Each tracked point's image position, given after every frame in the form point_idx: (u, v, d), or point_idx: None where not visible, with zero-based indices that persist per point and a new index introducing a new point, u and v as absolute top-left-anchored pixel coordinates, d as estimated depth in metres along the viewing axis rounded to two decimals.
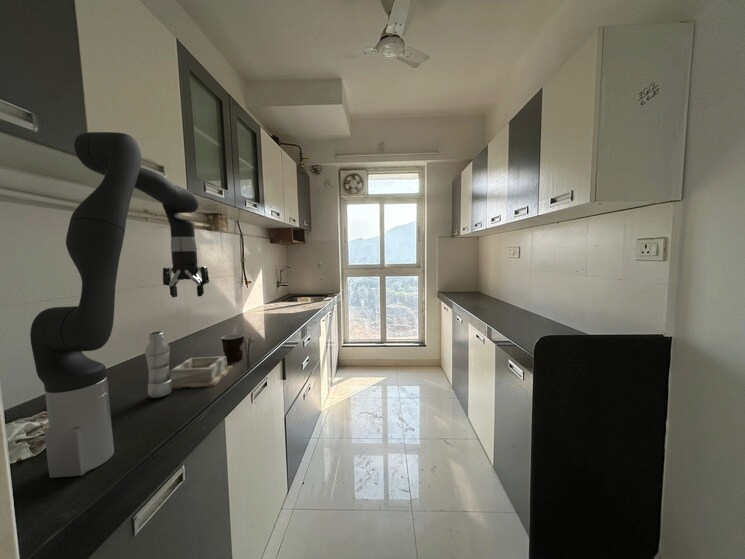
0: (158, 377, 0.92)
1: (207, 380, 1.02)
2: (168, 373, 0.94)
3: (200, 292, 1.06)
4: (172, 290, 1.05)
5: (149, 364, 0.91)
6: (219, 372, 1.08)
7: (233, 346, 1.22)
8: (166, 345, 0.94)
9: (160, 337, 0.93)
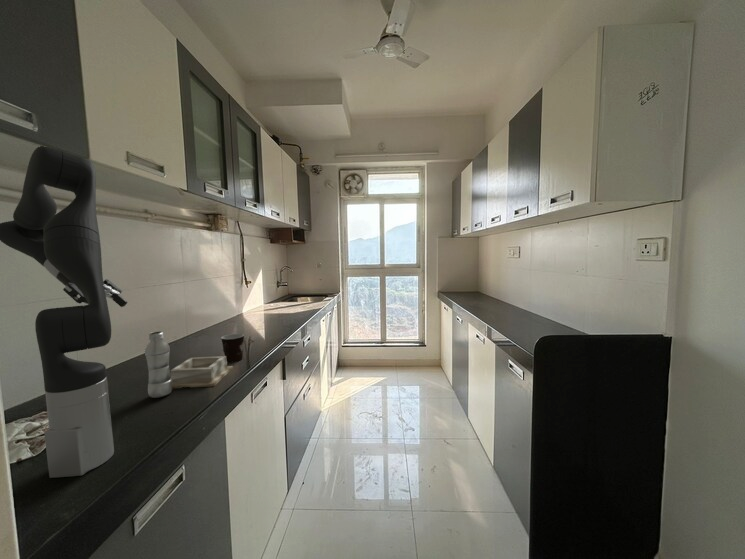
0: (158, 377, 0.92)
1: (207, 380, 1.02)
2: (168, 373, 0.94)
3: None
4: None
5: (149, 364, 0.91)
6: (219, 372, 1.08)
7: (233, 346, 1.22)
8: (166, 345, 0.94)
9: (160, 337, 0.93)
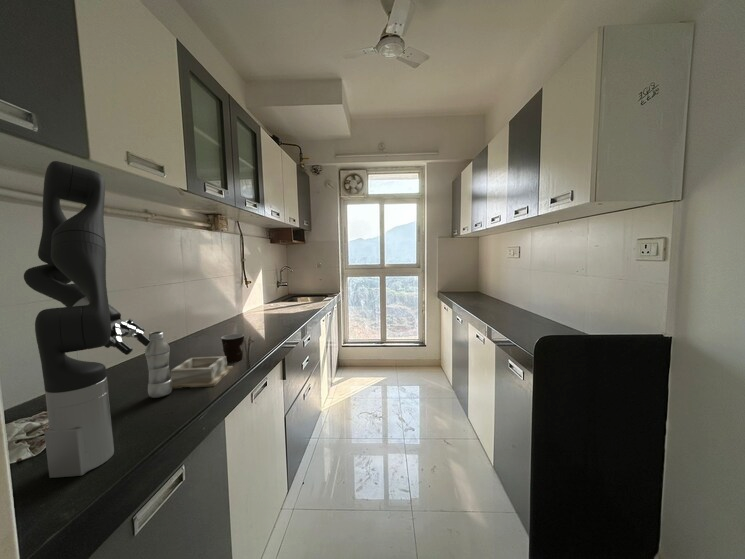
0: (158, 377, 0.92)
1: (207, 380, 1.02)
2: (168, 373, 0.94)
3: None
4: (125, 344, 0.88)
5: (149, 364, 0.91)
6: (219, 372, 1.08)
7: (233, 346, 1.22)
8: (166, 345, 0.94)
9: (160, 337, 0.93)
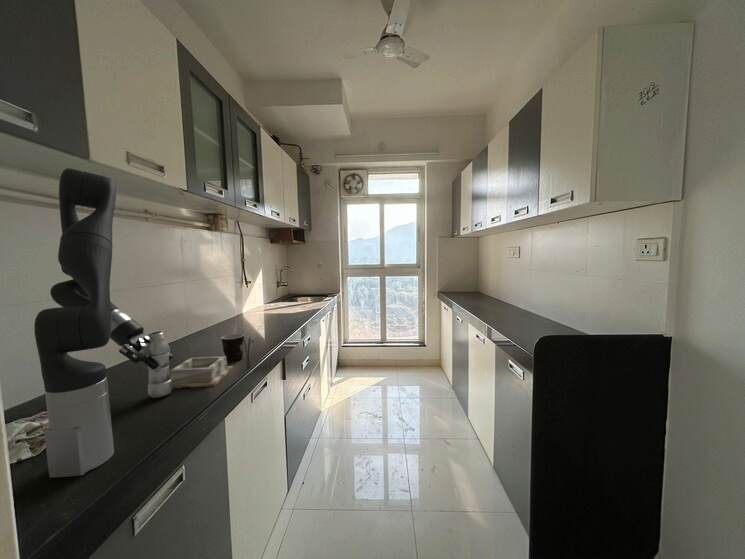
0: (158, 377, 0.92)
1: (207, 380, 1.02)
2: (168, 373, 0.94)
3: (170, 354, 0.98)
4: (153, 359, 0.90)
5: None
6: (219, 372, 1.08)
7: (233, 346, 1.22)
8: (166, 345, 0.94)
9: (160, 337, 0.92)
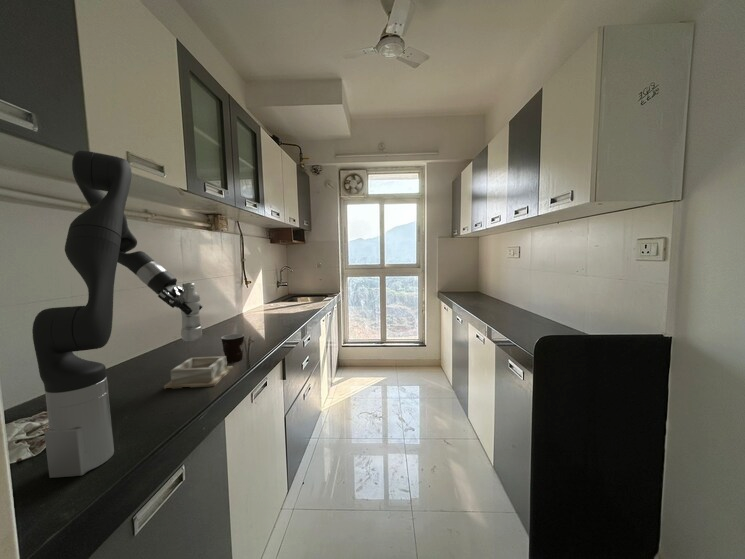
0: (191, 322, 1.02)
1: (207, 380, 1.02)
2: (199, 320, 1.05)
3: None
4: (186, 305, 1.01)
5: None
6: (219, 372, 1.08)
7: (233, 346, 1.22)
8: (197, 295, 1.04)
9: (192, 287, 1.03)
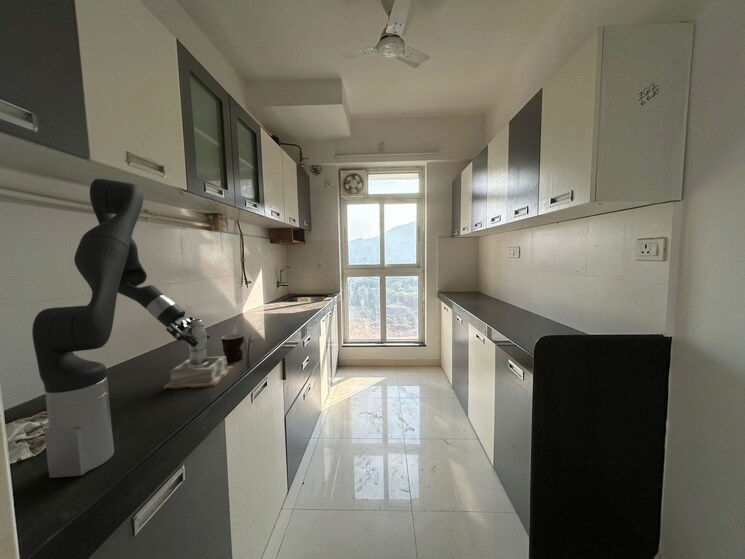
0: (198, 358, 1.05)
1: (207, 380, 1.02)
2: (206, 355, 1.07)
3: (207, 333, 1.12)
4: (193, 338, 1.03)
5: (190, 347, 1.04)
6: (219, 372, 1.08)
7: (233, 346, 1.22)
8: (204, 331, 1.07)
9: (200, 323, 1.06)
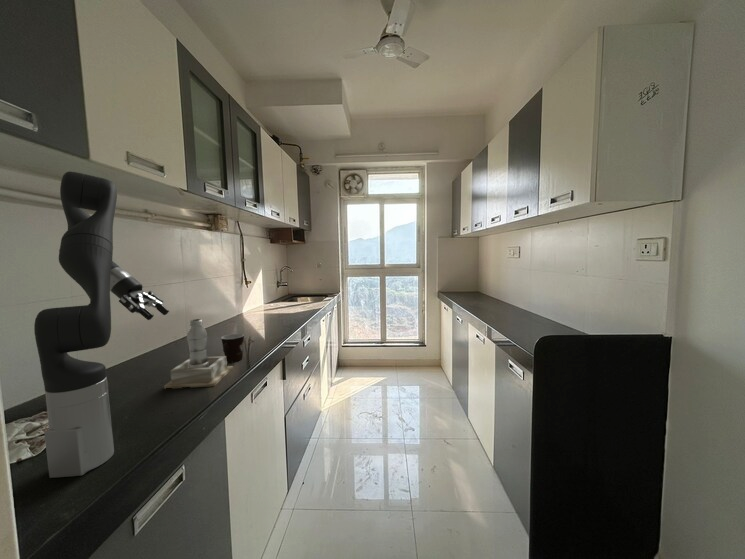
0: (198, 358, 1.05)
1: (207, 380, 1.02)
2: (206, 355, 1.07)
3: None
4: (147, 310, 1.00)
5: (191, 347, 1.04)
6: (219, 372, 1.08)
7: (233, 346, 1.22)
8: (205, 331, 1.07)
9: (200, 324, 1.06)
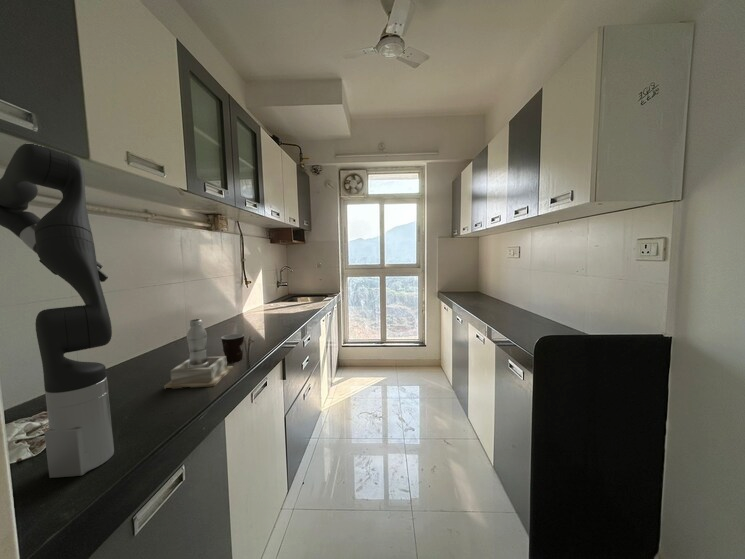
0: (198, 358, 1.05)
1: (207, 380, 1.02)
2: (206, 355, 1.07)
3: (104, 274, 0.94)
4: None
5: (190, 347, 1.04)
6: (219, 372, 1.08)
7: (233, 346, 1.22)
8: (204, 331, 1.07)
9: (199, 324, 1.06)
